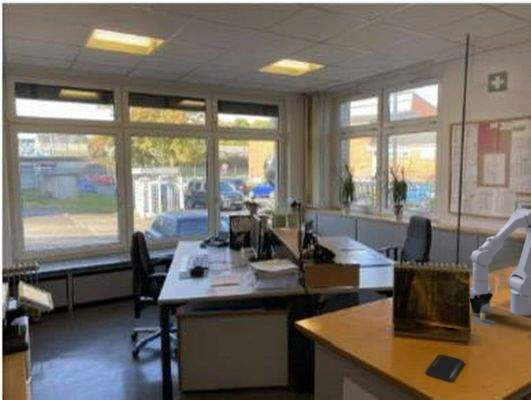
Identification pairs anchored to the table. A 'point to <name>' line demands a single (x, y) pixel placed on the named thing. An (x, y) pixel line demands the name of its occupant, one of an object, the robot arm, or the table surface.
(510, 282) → the robot arm
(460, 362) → the phone
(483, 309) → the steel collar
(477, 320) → the hub plate
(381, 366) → the table surface
